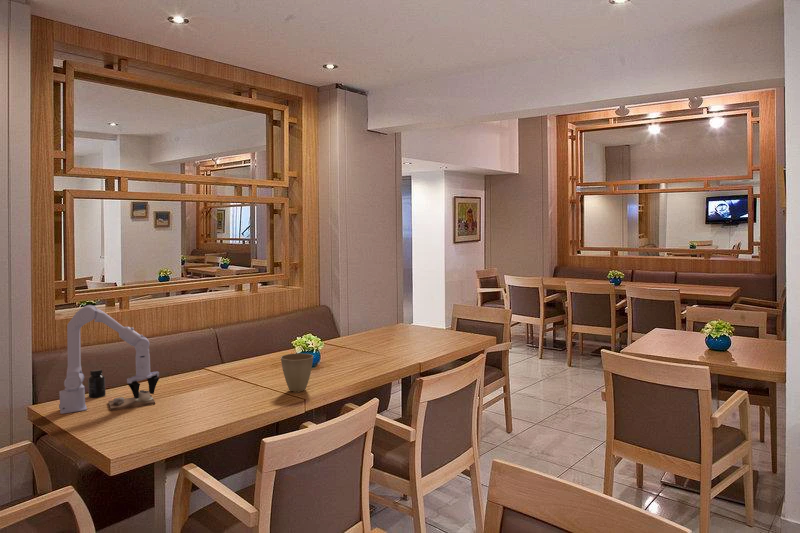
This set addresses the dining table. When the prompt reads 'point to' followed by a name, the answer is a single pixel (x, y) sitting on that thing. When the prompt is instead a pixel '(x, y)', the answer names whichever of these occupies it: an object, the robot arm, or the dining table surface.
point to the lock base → (129, 403)
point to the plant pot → (297, 370)
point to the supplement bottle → (96, 384)
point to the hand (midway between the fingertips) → (144, 395)
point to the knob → (144, 395)
